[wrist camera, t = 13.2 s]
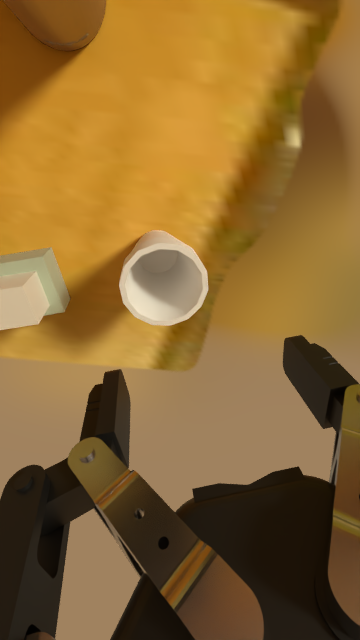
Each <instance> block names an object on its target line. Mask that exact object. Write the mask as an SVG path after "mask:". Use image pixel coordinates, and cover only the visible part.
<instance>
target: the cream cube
mask: <svg viewBox="0 0 360 640" xmlns="http://www.w3.org/2000/svg"><path fill="white" fill-rule="evenodd" d="M49 306H50V305H49V302H48V300H47V297H46V295H45V292H44V289H43V287H42V284H41V282H40V279H39V277H38V274H37V272H36V271H32V272H25V273H18V274H12V275H5V276H0V330H5V329H11V328H17V327H23V326H30V325H36V324H39V323H40V321H41V319H42V318H43V316H44V314H45V313H46V311H47V309H48V308H49Z"/></svg>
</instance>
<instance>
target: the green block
mask: <svg viewBox="0 0 360 640" xmlns="http://www.w3.org/2000/svg"><path fill="white" fill-rule="evenodd" d="M32 271H36V272H37V274H38V277H39V279H40V282H41V284H42V287H43V289H44V292H45V295H46V297H47V300H48V302H49V305H50V306H49V308H48V309H47V311H46V313H45V314H44V316H45V315H51V314H56V313H62V312H65V310H66V308H67V305H68V303H69V301H70V296H69V293H68V291H67V288H66V285H65V283H64V280H63V277H62V275H61V272H60V269H59V266H58V264H57V261H56V258H55V256H54V253H53V250H52V248H51V247H50V248H44V249H38V250H32V251H26V252H20V253H14V254H8V255H2V256H0V276H5V275H12V274H18V273H25V272H32Z"/></svg>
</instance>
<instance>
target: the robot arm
mask: <svg viewBox="0 0 360 640" xmlns="http://www.w3.org/2000/svg"><path fill="white" fill-rule="evenodd" d="M3 1H4V2H5V4H6V5H7V6H8V7H9V8H10V9H11V11H12V12H13V13H14V14H15V15H16V16H17V18H18V19H19V20H20V21H21V22H22V23H23V24H24V26H25V27H26V28H27V29H28V30H29V31H30V32H31V33H32V35H33V36H35V37H36V38H37V39H38V40H40V41H41V42H42V43H44V44H46V45H48V46H50V47H51V48H54V49H58V50H62V51H73V50H77V49H80V48H82V47H84V46H85V45H87V44H88V43H90V41H91V40H92V39H93V38H94V37H95V36H96V34H97V32H98V31H99V29H100V27H101V24H102V21H103V18H104V14H105V5H106V0H3ZM283 367H284V371H285V374H286V375H287V377H288V378H289V380H290V381H291V383H292V384H293V386H294V387H295V388H296V390H297V392H298V393H299V394H300V396H301V397H302V399H303V400H304V402H305V403H306V404H307V406H308V408H309V409H310V411H311V412H312V413H313V415H314V416H315V418H316V419H317V421H318V422H319V424H320V425H321V427H322V428H323V429H325V428H330V427H333V428H334V429H335V431H336V435H335V441H334V448H333V456H332V465H331V471H330V478H329V482H327V481H325V480H323V479H320V478H316V477H312V476H306V475H303V474H302V472H301V470H300V468H299V467H294V468H289V469H285V470H280V471H275V472H272V473H270V474H268V475H267V476H264V477H263V478H261V479H259V480H257V481H255V482H253V483H251V484H249V485H238V484H214V485H209V486H204V487H200V488H195V489H193V496H194V498H192V499H190V500H189V501H187V502H186V503H184V504H183V505H182V506H181V507H180V508H179V509H178V510H177V511H176V512H174V511H173V510H172V509H171V508H170V507H169V506H168V505H167V504H166V503H165V502H164V501H163V499H162V498H161V497H160V496H159V495H158V494H157V493H156V492H155V491H154V490H153V489H152V488H151V487H150V486H149V485H148V483H147V482H146V481H145V480H144V479H143V478H142V477H141V476H140V475H139V474H138V473H137V472H136V471H134V470H133V471H130V470H129V469H128V468H129V437H130V436H129V435H130V397H129V392H128V389H127V386H126V382H125V379H124V376H123V373H122V371H121V369H119V370H113V371H108V372H105V374H104V379H103V384H98V385H95V386H94V388H93V389H92V391H91V392H90V394H89V398H88V402H87V403H88V405H87V407H86V413H85V417H84V422H83V427H82V432H81V437H80V442H79V443H77V444H76V445H75V446H74V448H72V450H71V452H70V453H69V456H68V458H66V459H65V460H63V461H61V462H59V463H57V464H55V465H53V466H51V467H49V468H47V469H45V470H44V469H43V468H42V467H41V466H38V465H30V466H27V467H25V468H22V469H21V470H19V471H18V472H16V473H15V474H14V475H13V476H12V477H11V478H10V479H9V481H8V482H7V484H6V485H5V488H4V490H3V493H2V496H1V499H0V640H55V634H56V627H57V619H58V611H59V603H60V595H61V588H62V581H63V572H64V565H65V557H66V550H67V542H68V534H69V527H70V521H72V520H74V519H76V518H77V517H79V516H81V515H83V514H84V513H86V512H88V511H90V510H91V509H94V510H95V512H96V513H97V514H98V516H99V517H100V519H101V520H102V522H103V523H104V524H105V526H106V528H107V529H108V530H109V532H110V533H111V535H112V536H113V538H114V539H115V540H116V542H117V544H118V545H119V547H120V548H121V550H122V552H123V553H124V554H125V556H126V558H127V559H128V561H129V562H130V564H131V565H132V567H133V568H134V570H135V571H136V572H137V574H138V575H139V577H140V580H139V582H138V585H137V587H136V588H135V590H134V592H133V594H132V596H131V599H130V601H129V603H128V605H127V607H126V609H125V611H124V613H123V615H122V617H121V619H120V621H119V623H118V625H117V627H116V629H115V631H114V633H113V635H112V637H111V639H110V640H360V384H359V383H358V382H357V381H356V380H355V379H354V378H353V377H352V376H351V375H350V374H349V373H348V372H347V371H346V370H345V369H344V368H343V367H342V366H341V365H340V364H339V363H338V362H337V361H336V360H335V359H334V358H333V357H332V356H331V354H330V353H329V352H327V350H326V349H324V348H322V347H321V346H319V345H317V344H315V343H314V344H310V343H309V342H308V341H307V340H306V339H305V338H304V337H303V336H302V335H300V336H294V337H289V338H285V341H284V352H283Z"/></svg>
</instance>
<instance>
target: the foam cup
mask: <svg viewBox="0 0 360 640" xmlns="http://www.w3.org/2000/svg"><path fill="white" fill-rule="evenodd" d="M119 287H120V292H121V296H122V300H123V304H124V305H125V306H126V307H127V308H128V309H129V311H130V312H131V313H132V314H133V315H134V316H135V317H136V318H138V319H140V320H142V321H145V322H147V323H149V324H151V325H173V324H176V323H179V322H181V321H184V320H187V319H188V318H190V317H191V316H192V315H193V314H194V313H195V312H196V311H197V310H198V309H199V308H200V307H201V306H202V304H203V301H204V299H205V296H206V294H207V292H208V278H207V271H206V269H205V267H204V266H203V264H202V262H201V261H200V259H199V258H198V256H197V254H196V253H195V251H194V249H193V248H191V247H189V246H188V245H186V244H184V243H183V242H181V241H179V240H178V239H176V238H175V237H173V236H172V235H170V234H168V233H167V232H165V231H160V230H153V231H150V232H148V233H145V234H144V235H143V236H142V237H141V238H140V239H139V240H138V242H137V243H136V245H135V247H134V248H133V250H132V252H131V253H130V254H129V255H128V256H127V257H126V258H125V260H124V264H123V268H122V272H121V276H120V281H119Z"/></svg>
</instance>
